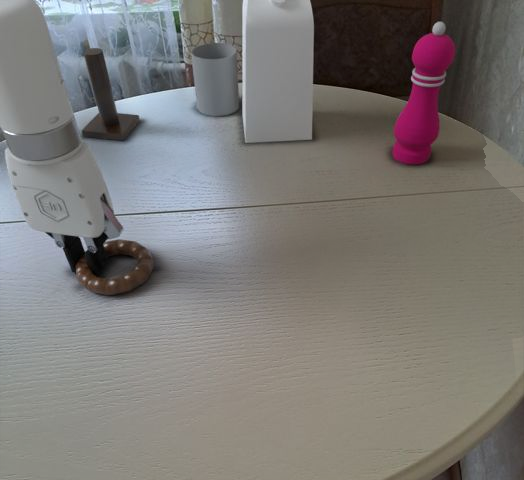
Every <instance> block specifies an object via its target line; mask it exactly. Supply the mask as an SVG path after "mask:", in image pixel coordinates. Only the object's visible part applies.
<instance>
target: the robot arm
mask: <svg viewBox="0 0 524 480" xmlns="http://www.w3.org/2000/svg"><path fill="white" fill-rule="evenodd" d="M48 26H49V25H48V23H47V20H46V16H45V14H44V13H43V10H42V9H41V7H40V5H39V4H38V3H37V2H36V1H35V0H0V134H2V135H3V138H4V140H5V142H6V144H7V147H6V148H5V150H4V156H5V163H6V168H7V173H8V177H9V181H10V185H11V187H12V190H13V193H14V196H15V199H16V202H17V204H18V208H19V210H20V212H21V215H22V217H23V219H24V221H25V223H26V224H27V226H28V227H29V228H31V229H33V230H35V231H39V232H43V233H45V234H46V235H47V236H48V237H50V238H51V239H53V240H54V243H55V245H56V247H57V248H60V249H62V251H63V253H64V255H65V257H66V260H67V263H68V265H69V269H70V270H71V272H72V273H75V274H76V263H77V262H78V261H79V259H80V258H81V256H82V255H83V254H84V252H85V251H86V257H87V260H88V262H89V265H90V268H91V270H92V274H94V275H95V276H96V277H100V275H101V274H102V272H103V271H104V269H105V268H107V266H108V263H109V258H108V257H107V255H106V252H105V249H104V246H103V243H104V242H107V241H109V240H114V239H116V238H119V237H120V236H121V234H122V233H123V232H124V230H125V228H124V226H123V225H122V224H121V222H120V221H119V219H118V218H117V217H116V216H115V210H114V206H113V202H112V198H111V195H110V192H109V189H108V187H107V183H106V181H105V178H104V176H103V173H102V170H101V168H100V166H99V164H98V162H97V160H96V157H95V155H94V153H93V151H92V149H91V148H90V146H89V144H88V142H86V141H83V140H82V136H81V133H80V129H79V126H78V123H77V120H76V116H75V113H74V110H73V107H72V103H71V99H70V96H69V93H68V90H67V87H66V84H65V80H64V78H63V73H62V70H61V67H60V63H59V60H58V57H57V53H56V50H55V47H54V44H53V39H52V37H51V33H50V29H49V27H48ZM81 238H83V240H84V243H85V246H86V248H87V249H86V250H85V248H84V245H83V242H82V240H81Z"/></svg>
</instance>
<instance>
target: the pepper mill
mask: <svg viewBox="0 0 524 480" xmlns="http://www.w3.org/2000/svg"><path fill="white" fill-rule="evenodd" d="M446 29H447V28H446V24H445V23H444V22H443V21H437V22H436V23H434V25H433V26H432V30H431V31H432V33H431V32H430V33H427V34H425V35H423V36H422V37H420V38H419V40H417V42H416V43H415V45H414V47H413V50H412V54H411V61H412V64H413V66H414V68H413V69H412V71H411V73H412V75H411V77H410V80H411V82H412V87H411V92H410V95H409V98H408V101H407V103H406V104H405V106H404V107H403V109H402V111H401V112H400V114H398V117H397V119H396V122H395V124H394V126H393V127H394V128H393V136H394V138H395V140H396V141H395V142H394V143H393V147H392V153H391V154H392V157H393V159H395V160H396V161H397V162H399V163H402V164H405V165H412V166H413V165H414V166H416V165H422V164H425V163H426V162H427V161H429V159H430V157H431V153H432V149H433V147H432V144H433V143H435V142H436V141H437V139H438V137H439V134H440V128H441V127H440V125H441V123H440V116H439V115H440V114H439V109H438V97H439V92H440V89H441V86H442V85H443V84H444V83H445V80H446V79H445V78H446V76H447V72H446V70H447V69H448V68H449V67H450V66H451V65H452V64H453V62H454V58H455V54H456V46H455V42H454V41H453V39H452V38H451V37H450V36H449V35H448V34H445V31H446Z"/></svg>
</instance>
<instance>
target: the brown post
mask: <svg viewBox="0 0 524 480" xmlns="http://www.w3.org/2000/svg"><path fill="white" fill-rule="evenodd" d="M83 57H84V61H85V65H86V69H87V73H88V76H89V80H90V85H91V88H92V92H93V95H94V99H95V104H96V106H97V111H98V113H97V114H96V115H95V116H94V117H93V118H92V119H90V121H89V122H88V123H87V124H86V125H85V126H84V127H83V128H82V129H81V134H82V137H83V138H91V139H102V140H112V141H121V142H123V141H124V140H126V138H127V137H128V136H129V135H130V133H131V132H132V131H134V129H135V128H136V126H137V125H138V124H139V123H140V122H141V120H140V119H141V118H140V115H139V114H133V113H121V112H118V110H117V106H116V102H115V97H114V94H113V89H112V84H111V80H110V76H109V72H108V67H107V64H106V59H105V55H104V51H103V49H102V48H98V47H92V48H88V49H84V51H83Z"/></svg>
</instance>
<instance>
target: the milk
mask: <svg viewBox="0 0 524 480" xmlns="http://www.w3.org/2000/svg"><path fill="white" fill-rule="evenodd" d="M241 13H242V15H241V16H242V19H241V21H242V23H241V24H242V26H241V27H242V28H241V29H242V32H241V33H242V43H241V44H242V45H241V46H242V52H241V53H242V54H241V56H242V60H241V61H242V64H241V65H242V67H241V69H242V73H241V75H242V76H241V77H242V79H241V81H242V82H241V85H242V87H241V88H242V92H241V95H242V96H241V97H242V99H241V100H242V103H241V104H242V105H241V107H242V108H241V109H242V110H241V111H242V112H241V113H242V114H241V115H242V123H243V131H244V142H245V144H252V143H272V142H273V143H274V142H291V141H305V140H306V141H310V140H313V104H314V101H313V99H314V98H313V97H314V45H315V44H314V43H315V39H314V37H315V22H314V14H313V8H312V2H311V0H242V11H241Z"/></svg>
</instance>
